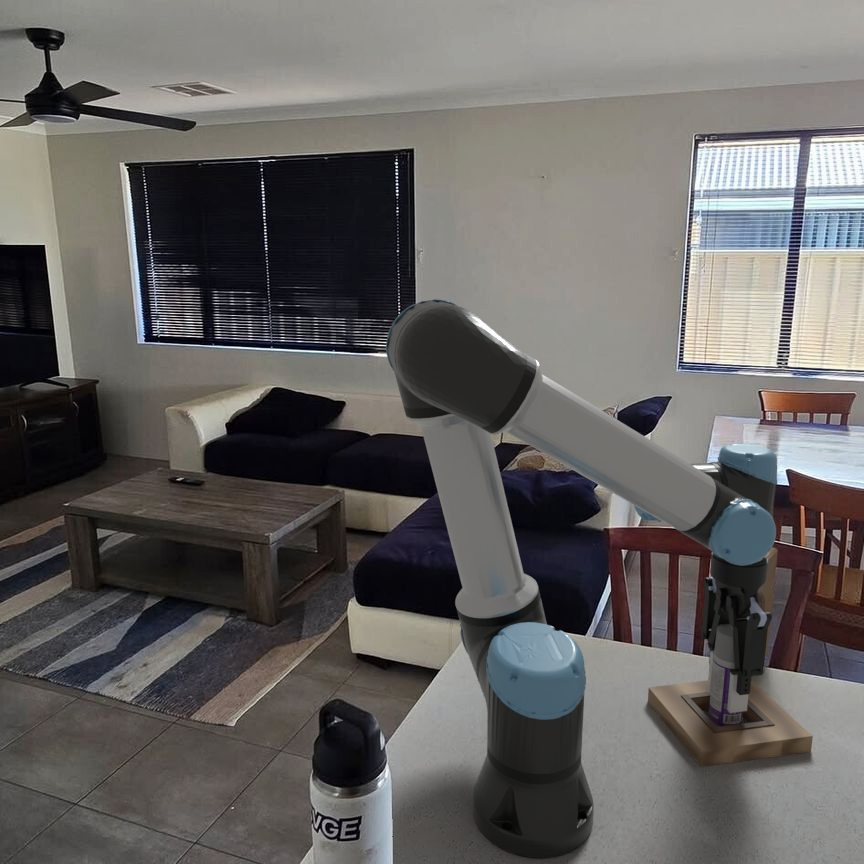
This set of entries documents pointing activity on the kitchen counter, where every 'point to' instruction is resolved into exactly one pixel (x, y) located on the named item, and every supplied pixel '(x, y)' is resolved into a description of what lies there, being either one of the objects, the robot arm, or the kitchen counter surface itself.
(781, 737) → the board
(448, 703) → the kitchen counter surface
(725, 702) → the container
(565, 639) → the robot arm
